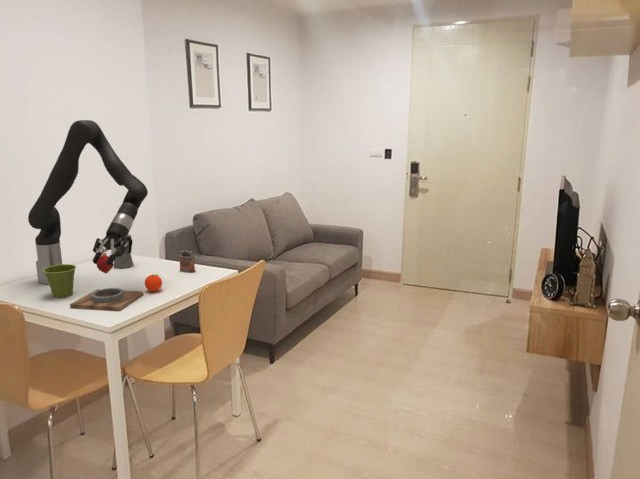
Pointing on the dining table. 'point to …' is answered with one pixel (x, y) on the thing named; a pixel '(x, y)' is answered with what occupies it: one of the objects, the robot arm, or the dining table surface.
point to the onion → (103, 264)
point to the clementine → (153, 282)
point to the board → (113, 306)
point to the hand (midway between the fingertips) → (101, 263)
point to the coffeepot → (125, 256)
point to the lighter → (187, 262)
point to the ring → (113, 298)
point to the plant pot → (60, 279)
